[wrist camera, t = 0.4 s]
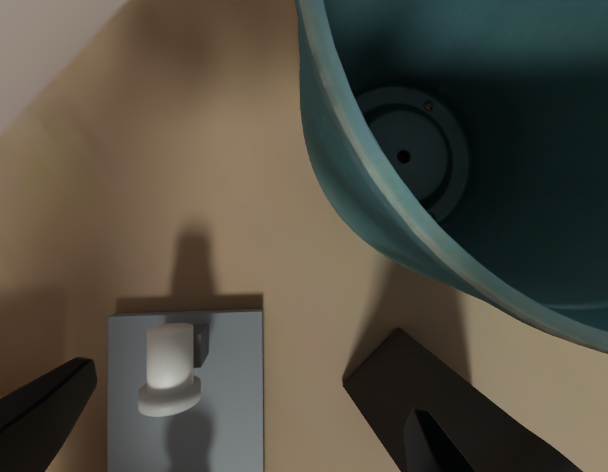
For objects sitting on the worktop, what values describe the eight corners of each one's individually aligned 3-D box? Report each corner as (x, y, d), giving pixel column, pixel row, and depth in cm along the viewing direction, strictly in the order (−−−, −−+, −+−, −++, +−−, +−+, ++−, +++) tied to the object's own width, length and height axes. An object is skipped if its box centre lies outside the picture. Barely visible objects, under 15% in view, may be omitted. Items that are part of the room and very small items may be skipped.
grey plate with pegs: (263, 520, 22) (262, 625, 16) (114, 536, 21) (51, 657, 15) (262, 308, 22) (260, 332, 16) (115, 313, 21) (53, 341, 15)
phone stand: (341, 382, 23) (419, 534, 11) (397, 325, 23) (529, 409, 12) (420, 466, 23) (578, 697, 12) (473, 408, 24) (675, 570, 12)
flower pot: (223, 139, 22) (83, -183, 5) (404, -1, 24) (717, -566, 7) (380, 326, 23) (672, 546, 6) (542, 178, 25) (1100, 45, 8)
